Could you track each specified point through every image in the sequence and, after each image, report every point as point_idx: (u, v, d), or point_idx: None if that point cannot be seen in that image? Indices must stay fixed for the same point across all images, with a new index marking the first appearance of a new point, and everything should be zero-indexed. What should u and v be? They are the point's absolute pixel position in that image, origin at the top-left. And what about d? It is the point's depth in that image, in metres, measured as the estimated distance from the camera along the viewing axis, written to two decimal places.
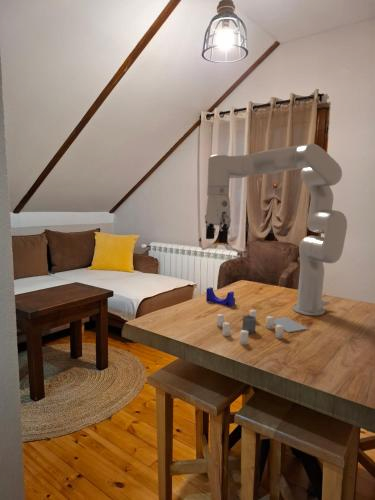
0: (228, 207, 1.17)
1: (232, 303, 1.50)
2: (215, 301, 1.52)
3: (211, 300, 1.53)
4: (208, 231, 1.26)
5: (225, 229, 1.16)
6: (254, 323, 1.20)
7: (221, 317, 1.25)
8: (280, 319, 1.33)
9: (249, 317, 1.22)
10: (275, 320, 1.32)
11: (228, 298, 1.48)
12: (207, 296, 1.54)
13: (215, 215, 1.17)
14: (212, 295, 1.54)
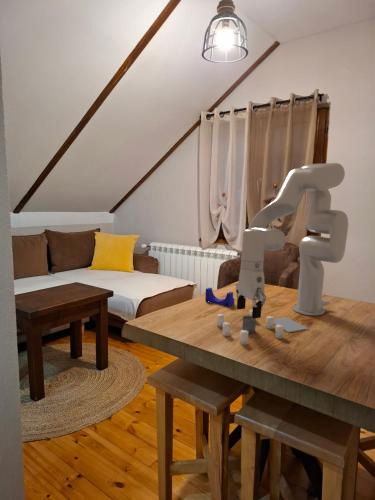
0: (263, 283, 1.15)
1: (231, 303, 1.49)
2: (214, 301, 1.52)
3: (210, 300, 1.53)
4: (239, 302, 1.24)
5: (259, 305, 1.14)
6: (254, 323, 1.20)
7: (221, 317, 1.25)
8: (280, 319, 1.33)
9: (249, 317, 1.22)
10: (275, 320, 1.32)
11: (227, 298, 1.48)
12: (206, 296, 1.54)
13: (249, 290, 1.16)
14: (211, 295, 1.53)
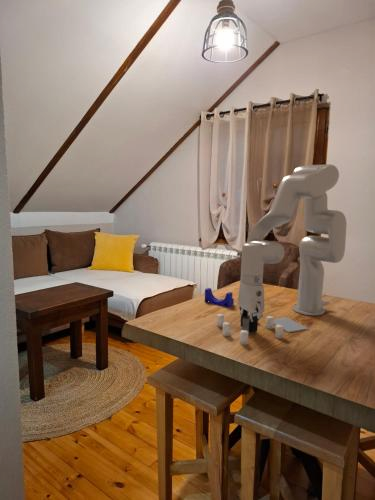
0: (262, 296, 1.16)
1: (231, 304, 1.49)
2: (213, 302, 1.51)
3: (209, 301, 1.52)
4: None
5: (255, 320, 1.17)
6: None
7: (221, 317, 1.25)
8: (280, 319, 1.33)
9: (249, 317, 1.22)
10: (275, 320, 1.32)
11: (227, 298, 1.47)
12: (205, 297, 1.53)
13: (249, 304, 1.17)
14: (210, 296, 1.53)
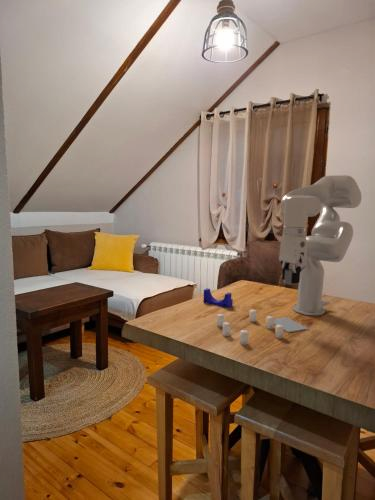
0: (305, 247, 1.20)
1: (230, 304, 1.48)
2: (212, 302, 1.50)
3: (208, 301, 1.51)
4: None
5: (299, 271, 1.21)
6: None
7: (221, 317, 1.25)
8: (280, 319, 1.33)
9: (291, 269, 1.26)
10: (275, 320, 1.32)
11: (226, 299, 1.46)
12: (204, 297, 1.52)
13: (292, 255, 1.21)
14: (209, 296, 1.52)
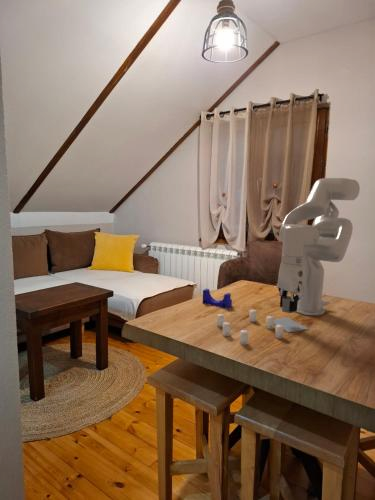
0: (303, 277, 1.22)
1: (229, 305, 1.47)
2: (212, 303, 1.50)
3: (207, 302, 1.51)
4: None
5: (296, 299, 1.23)
6: None
7: (221, 317, 1.25)
8: (280, 319, 1.33)
9: (289, 297, 1.27)
10: (275, 320, 1.32)
11: (225, 299, 1.46)
12: (203, 298, 1.52)
13: (290, 284, 1.22)
14: (208, 297, 1.51)
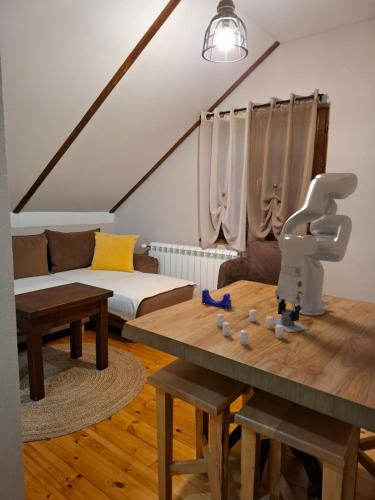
0: (303, 287, 1.22)
1: (228, 305, 1.47)
2: (211, 303, 1.49)
3: (207, 302, 1.50)
4: (280, 307, 1.30)
5: (298, 309, 1.23)
6: None
7: (221, 317, 1.25)
8: (280, 319, 1.33)
9: (288, 310, 1.28)
10: (275, 320, 1.32)
11: (224, 300, 1.45)
12: (203, 298, 1.51)
13: (290, 294, 1.23)
14: (208, 297, 1.51)
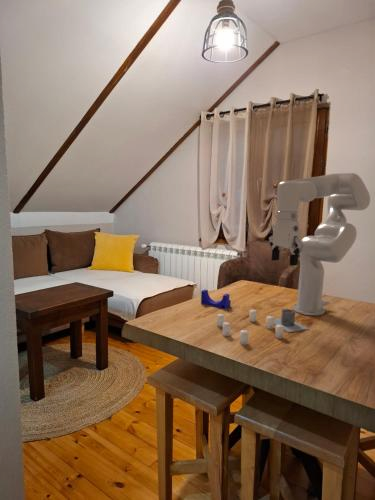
0: (299, 231, 1.22)
1: (228, 306, 1.46)
2: (210, 304, 1.48)
3: (206, 303, 1.49)
4: (274, 253, 1.31)
5: (297, 253, 1.21)
6: (293, 316, 1.27)
7: (221, 317, 1.25)
8: (280, 319, 1.33)
9: (288, 310, 1.28)
10: (275, 320, 1.32)
11: (224, 300, 1.45)
12: (202, 299, 1.50)
13: (286, 239, 1.23)
14: (207, 298, 1.50)
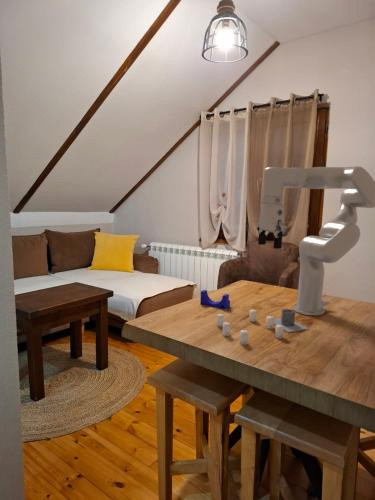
0: (283, 215, 1.26)
1: (227, 306, 1.46)
2: (210, 304, 1.48)
3: (205, 303, 1.49)
4: (260, 237, 1.35)
5: (280, 236, 1.25)
6: (293, 316, 1.27)
7: (221, 317, 1.25)
8: (280, 319, 1.33)
9: (288, 310, 1.28)
10: (275, 320, 1.32)
11: (223, 300, 1.44)
12: (201, 299, 1.50)
13: (270, 223, 1.27)
14: (206, 298, 1.49)
